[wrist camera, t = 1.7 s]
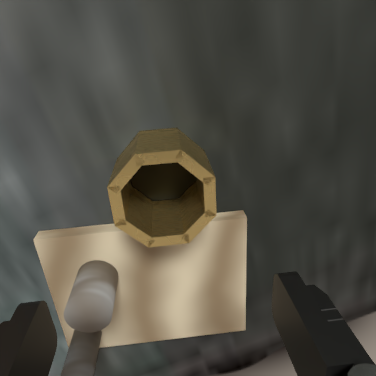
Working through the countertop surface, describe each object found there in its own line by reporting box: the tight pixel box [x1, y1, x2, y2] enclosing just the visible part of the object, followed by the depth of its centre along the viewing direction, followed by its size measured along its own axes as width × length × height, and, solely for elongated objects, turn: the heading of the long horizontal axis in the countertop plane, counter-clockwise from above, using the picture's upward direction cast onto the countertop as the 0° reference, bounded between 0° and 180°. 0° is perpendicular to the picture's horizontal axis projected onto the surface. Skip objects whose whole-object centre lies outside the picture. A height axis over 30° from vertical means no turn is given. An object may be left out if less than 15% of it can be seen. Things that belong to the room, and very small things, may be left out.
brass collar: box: [107, 128, 216, 247], centre depth 21 cm, size 6×6×5 cm
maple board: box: [33, 210, 247, 376], centre depth 24 cm, size 16×12×8 cm
